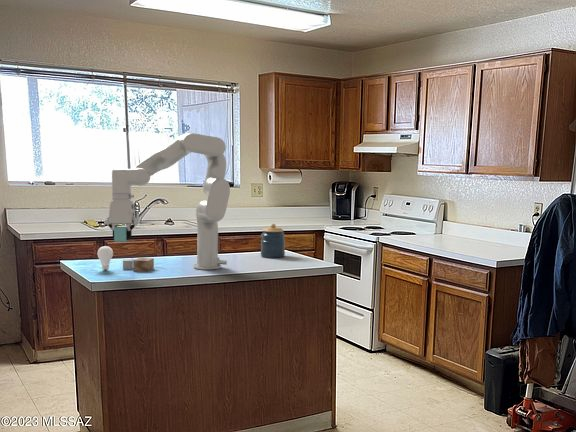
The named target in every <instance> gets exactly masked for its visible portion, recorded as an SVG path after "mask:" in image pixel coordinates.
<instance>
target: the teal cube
mask: <svg viewBox="0 0 576 432" xmlns="http://www.w3.org/2000/svg"><path fill="white" fill-rule="evenodd" d="M113 241H114V242H117V243H118V242H119V243H121V242H123V243H126V242H129V241H130V240H127V226H126V225H122V226H120V225H119V226H118V225H117V227H114V238H113Z"/></svg>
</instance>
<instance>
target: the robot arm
mask: <svg viewBox="0 0 576 432" xmlns="http://www.w3.org/2000/svg"><path fill="white" fill-rule="evenodd" d="M226 148H227V146H226V143H225V141H224V140H223V139H222V138H220V137H217V136H212V135H205V134H200V133H199V134H198V133H195V132H189V133H183V134H182V135H180V136H178V137H176V138H175V139H174V140H172V141H171V142H170V143H168V144H167V145H165V146H164V147H162V148H161V149H160V150H158V151H156V152H155V153H154V154H152V155H150V156H149V157H147V158H146V159H144V160H142V161H141V162H140V163H138V164H136V165H135V166H134V167H132V168H123V167H122V168H119V167H117V168H113V169H112V171H111V184H112V185H111V189H112V190H111V193H112V194H111V196H112V197H111V199H112V200H111V201H110V204H109V210H108V211H109V212H108V217H107V219H106V220H105V221H104V223H105V224H106V225H107V226H108V227H109V228H110V229H111V231H112V238H113V239H114V227H118V225H125V226H127V240H129V241H130V240H131V239H132V234H133V233H132V232H133V231H132V230H133V229H134V228H136V226H138V225H139V224H140V222H139V220H138V219H137V217H136V212H135V204H134V200H132V199H134V198H135V195H134V194H132V192H131V189H132V186H139V187H140V186H141V187H142V186H146V185H148V183H149V182H150V180H151V177H152V176H153V175H155V174H156V173H158V172H160V171H163V170H166V169H169V168H170V167H173V166H174V165H175V164H176V163H178V162H179V161H180V160H182V159H183V158H185V157H186V156H188V155H189V154H190V153H194V154H199V155H204V156H205V158H206V160H207V169H206V175H205V178H204V182H203V187H202V189H203V194H205V196H206V197H207V199H204V200H201V201H199V203H198V204H197V206H196V209H195V216H196V223H197V224H196V226H197V228H196V229H197V230H196V231H197V236H196V237H197V238H196V239H197V240H196V241H197V243H196V246H197V247H196V248H197V250H196V251H197V252H196V255H197V257H196V258H197V260H196V263H195V264H194V265H193V269H196V270H202V271H203V270H204V271H207V270H217V269H221V268H222V265H225V266H226V265H228V261H227V260H225V259H220V256H219V224H218V223H219V222H220V221H221V220H222V219H223V218H224V217H225V214H226V211H227V207H228V203H229V198H230V194H231V187H230V183H229V182H228V180H227V179H225V177H226V172H227V159H226V157H225V155H224V154H225V152H226Z"/></svg>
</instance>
